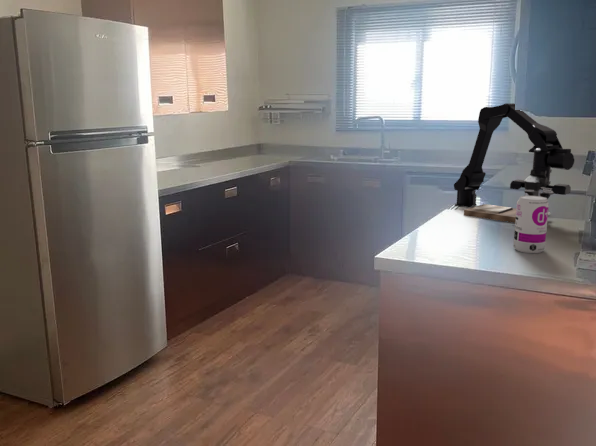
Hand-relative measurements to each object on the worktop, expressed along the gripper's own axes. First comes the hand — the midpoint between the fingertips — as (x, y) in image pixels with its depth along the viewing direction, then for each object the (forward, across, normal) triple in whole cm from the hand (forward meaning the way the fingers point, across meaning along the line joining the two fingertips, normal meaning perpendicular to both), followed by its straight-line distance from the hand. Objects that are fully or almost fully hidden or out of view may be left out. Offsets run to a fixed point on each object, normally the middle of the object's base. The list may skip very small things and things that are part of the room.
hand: (537, 211), depth 204 cm
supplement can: (+4, +14, -41) cm, 43 cm away
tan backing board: (+4, -12, 0) cm, 13 cm away
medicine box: (+4, -9, +19) cm, 22 cm away
